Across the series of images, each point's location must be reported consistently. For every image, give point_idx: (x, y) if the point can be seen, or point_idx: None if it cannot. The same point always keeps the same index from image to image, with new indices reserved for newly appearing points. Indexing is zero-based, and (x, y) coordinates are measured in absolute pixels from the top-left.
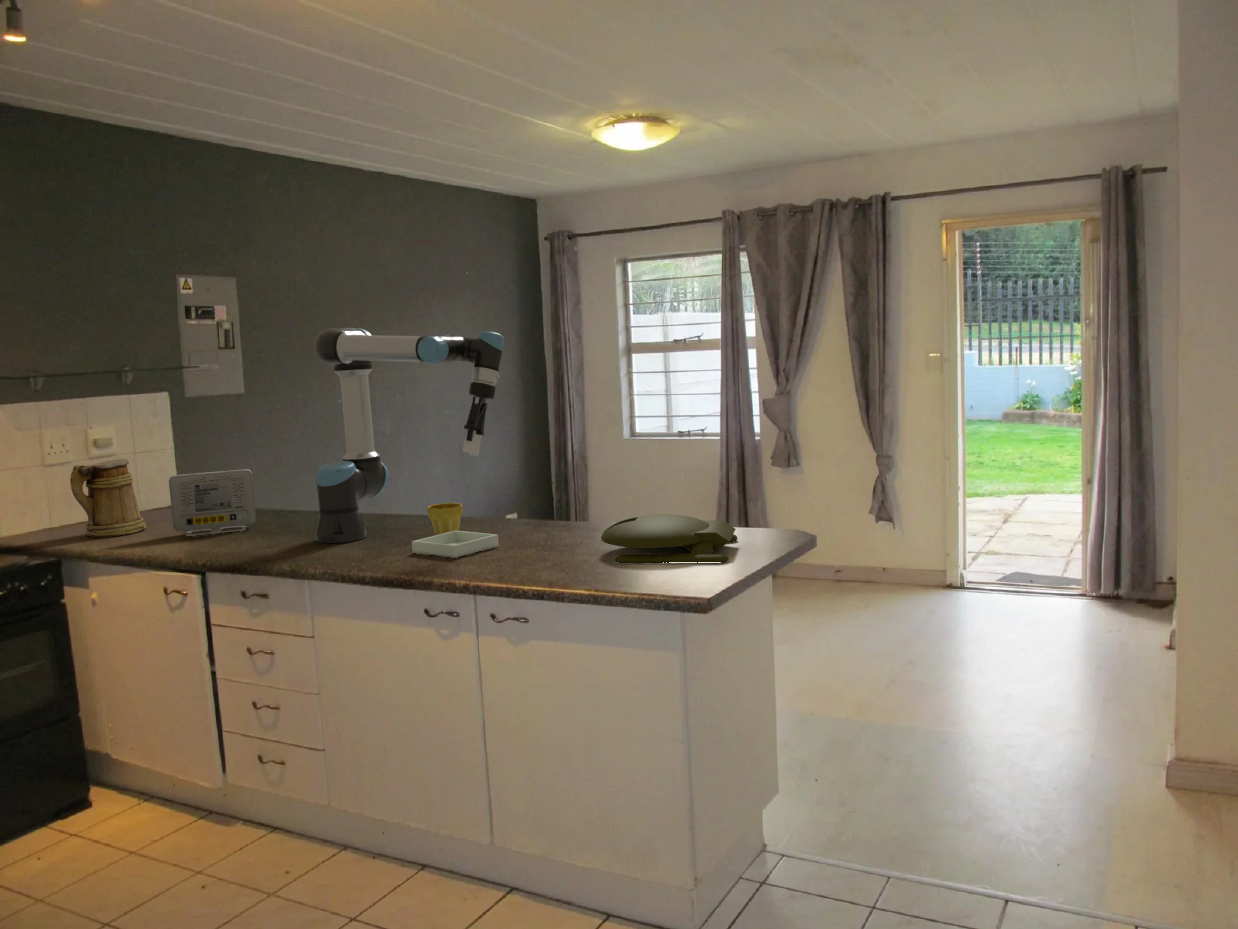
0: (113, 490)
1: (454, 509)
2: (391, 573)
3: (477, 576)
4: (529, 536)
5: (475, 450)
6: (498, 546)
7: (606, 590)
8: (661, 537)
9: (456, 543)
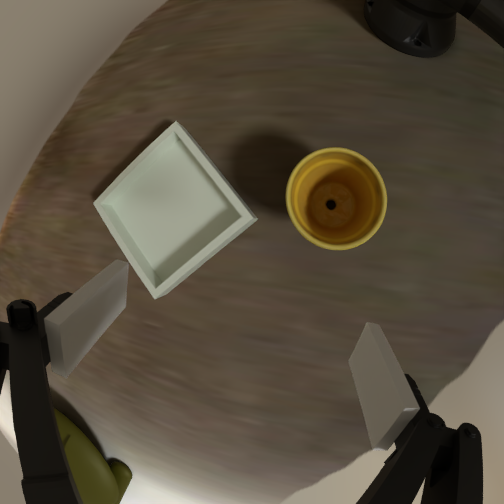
0: None
1: (291, 220)
2: (72, 115)
3: (18, 228)
4: (242, 372)
5: (361, 365)
6: (165, 294)
7: None
8: (14, 430)
9: (218, 215)
